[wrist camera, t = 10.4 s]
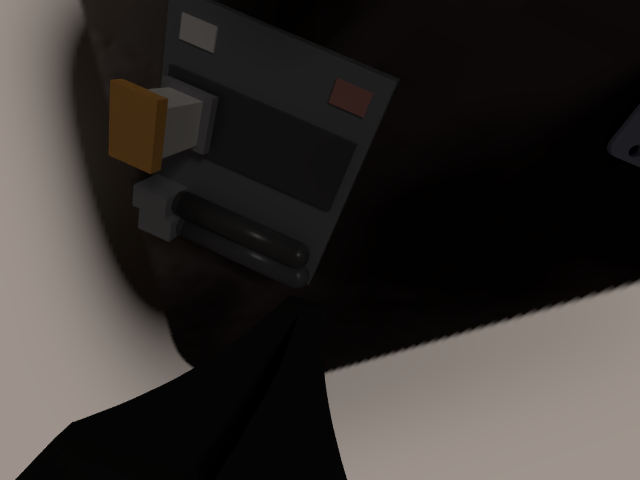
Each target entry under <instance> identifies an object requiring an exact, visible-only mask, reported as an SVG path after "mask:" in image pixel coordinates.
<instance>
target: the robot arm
mask: <svg viewBox="0 0 640 480" xmlns="http://www.w3.org/2000/svg"><path fill="white" fill-rule="evenodd" d="M635 145H638V150H637V152H636V153H634V154H632V155H629V153H628V152H629V150H630V148H632V147H633V146H635ZM607 151H608V153H609V154H611V155H612V156H614V157H617V158H619V159H621V160H624V161H626V162H629V163H631V164H633V165H636V166H638V167H640V104H639V105H638V106H637V108H636V109H635V110H634V111H633V112H632V114H631V115H630V116H629V117H628V119H627V120H626V121H625V122H624V124H623V125H622V126H621V127H620V128H619V130H618V131H617V132H616V133H615V135H614V136H613V137H612V138H611V140H610V141H609V143H608V145H607ZM326 314H327V306H326V305H325V304H322V303H318V302H314V301H311V300H307V299H303V298H299V297H295V296H291V295H290V296H288V297H286V298H285V299H284V300H283V301H282V302H281V303H280V304H279V305H278V306H277V307H276V308H275V309H274V310H273V311H272V312H271V313H270V314H268V315H267V316H266V317H265V318H264V319H263V320H261V321H260V322H259V323H258V324H257V325H255V326H254V327H253V328H252V329H251V330H249V331H248V332H247V333H246V334H244V335H243V336H241V337H240V338H239V339H237V340H236V341H235V342H233V343H232V344H231V345H229V346H228V347H227V348H225V349H224V350H222V351H221V352H219V353H218V354H216V355H215V356H213V357H212V358H210V359H208V360H207V361H205V362H204V363H202V364H200V365H199V366H197V367H195V368H193V369H192V370H190V371H188V372H186V373H184V374H183V375H181V376H179V377H178V378H176V379H174V380H172V381H170V382H168V383H166V384H164V385H162V386H160V387H157V388H155V389H153V390H151V391H149V392H147V393H145V394H143V395H140V396H138V397H136V398H134V399H132V400H129V401H127V402H125V403H122V404H120V405H117V406H115V407H112V408H110V409H107V410H105V411H102V412H99V413H96V414H94V415H91V416H89V417H86V418H83V419H81V420H78V421H75V422H72V423H71V424H70V425H69V426H68V427H67V428H65V429H64V430H63V431H62V432H61V433H60V434H59V435H58V436H57V437H56V438H54V439H53V441H52V442H51V443H50V444H49V445H48V446H47V447H46V448H45V449H44V450H43V451H42V452H41V453H40V454H39V455H38V456H37V457H36V458H35V459H34V460H33V461H32V463H31V464H30V465H29V466H28V467H27V468H26V469H25V470H24V471H23V472H22V473H21V474H20V475H19V476H18V477H17V478H16V479H15V480H347V478H346V474H345V471H344V468H343V464H342V461H341V457H340V453H339V449H338V445H337V441H336V437H335V433H334V429H333V424H332V420H331V414H330V409H329V404H328V398H327V392H326V384H325V375H324V363H323V331H324V325H325V319H326Z"/></svg>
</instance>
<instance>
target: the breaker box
mask: <svg viewBox="0 0 640 480" xmlns="http://www.w3.org/2000/svg"><path fill="white" fill-rule="evenodd" d="M162 76H171V77H173V78H175V79H178V80H180V81H182V82H184V83H187V84H189V85H191V86H194V87H196V88H198V89H201V90H203V91H205V92H207V93H210V94H212V95H214V96H217V97H219V99H218V104H217V110H216V115H215V121H214V126H213V132H212V137H211V143H210V148H209V153H207V154H205V155H201V154H199V153H197V152H195V151H192V150H190V149H186V150H183V151H181V152H178V153H176V154H173V155H170V156H168V157H165V158H162V163H161V170H159V171H157V172H154V173H153V175H152V177H150V178H147V179H145V180H143V181H140V182H138V183H136V184H134V188H133V204H132V205H133V206H135V207H137V208H139V222H138V228H139V229H141V230H144V231H146V232H148V233H150V234H152V235H155V236H157V237H159V238H161V239H163V240H165V241H168V242H170V241H171V240H172V239H174V238H175V237H177V236H179V237H181V238H183V239H185V240H187V241H190V242H192V243H194V244H196V245H198V246H201V247H203V248H205V249H207V250H209V251H211V252H214V253H216V254H218V255H220V256H222V257H225V258H227V259H229V260H231V261H233V262H236V263H238V264H240V265H242V266H244V267H247V268H249V269H251V270H253V271H255V272H258V273H260V274H262V275H264V276H266V277H269V278H271V279H273V280H275V281H277V282H279V283H282V284H284V285H286V286H288V287H290V288H294V289H298V288H302V287H303V286H305V285H306V284H307V285H309V283H310V281H311V279H312V277H313V275H314V273H315V271H316V269H317V267H318V265H319V262H320V260H321V258H322V256H323V254H324V251H325V249H326V247H327V244H328V242H329V240H330V238H331V235H332V233H333V231H334V228H335V226H336V224H337V222H338V219H339V217H340V215H341V212H342V210H343V208H344V206H345V203H346V201H347V199H348V197H349V194H350V192H351V190H352V187H353V185H354V183H355V181H356V178H357V176H358V174H359V171H360V169H361V167H362V165H363V162H364V160H365V158H366V155H367V153H368V151H369V149H370V146H371V144H372V142H373V139H374V137H375V135H376V133H377V130H378V128H379V126H380V123H381V121H382V119H383V117H384V114H385V112H386V110H387V107H388V105H389V103H390V101H391V98H392V96H393V94H394V91H395V89H396V87H397V85H398V82H399V80H400V79H398V78H396V77H394V76H391V75H389V74H387V73H384V72H382V71H379V70H377V69H375V68H372V67H370V66H368V65H365V64H363V63H361V62H358V61H356V60H353V59H351V58H349V57H346V56H344V55H342V54H339V53H337V52H335V51H332V50H330V49H327V48H325V47H323V46H320V45H318V44H316V43H313V42H311V41H309V40H306V39H304V38H301V37H299V36H297V35H294V34H292V33H290V32H287V31H285V30H283V29H280V28H278V27H275V26H273V25H271V24H268V23H266V22H264V21H261V20H259V19H257V18H254V17H252V16H249V15H247V14H245V13H242V12H240V11H238V10H235V9H233V8H231V7H228V6H226V5H223V4H221V3H219V2H216V1H214V0H169V5H168V16H167V26H166V37H165V48H164V58H163V69H162ZM161 82H162V80H161Z"/></svg>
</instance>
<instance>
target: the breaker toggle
mask: <svg viewBox="0 0 640 480" xmlns="http://www.w3.org/2000/svg"><path fill="white" fill-rule="evenodd" d="M218 99H219V97H217V96H214V95H212V94H210V93H207V92H205V91H203V90H201V89H198V88H196V87H194V86H191V85H189V84H187V83H184V82H182V81H180V80H178V79H175V78H173V77H171V76H162V82H161V88H156V89H145V88H143V87H140V86H138V85H136V84H133V83H131V82H129V81H127V80H124V79H115V80H110V119H109V125H110V126H109V155H110V156H112V157H114V158H116V159H118V160H120V161H123V162H125V163H127V164H129V165H132V166H134V167H136V168H138V169H140V170H143V171H145V172H147V173H149V174H152V173H154V172H157V171H159V170H161V163H162V158H165V157H168V156H170V155H173V154H176V153H178V152H181V151H183V150H186V149H190V150H192V151H195V152H197V153H199V154H201V155H205V154H207V153H209V148H210V143H211V137H212V132H213V126H214V121H215V115H216V110H217V104H218Z"/></svg>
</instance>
